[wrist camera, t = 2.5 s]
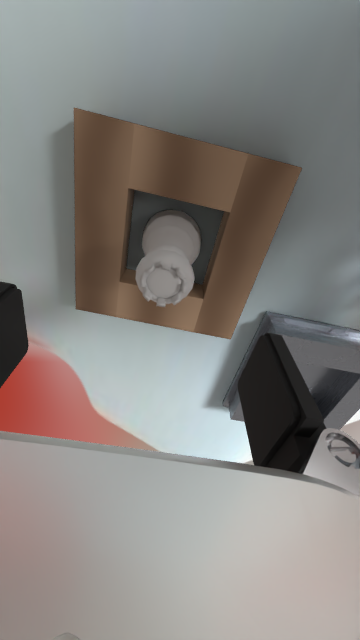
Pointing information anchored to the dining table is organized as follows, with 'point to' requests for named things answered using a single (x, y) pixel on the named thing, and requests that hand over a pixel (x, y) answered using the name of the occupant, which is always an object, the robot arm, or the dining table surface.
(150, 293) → the rook chess piece
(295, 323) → the holder
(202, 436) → the dining table surface
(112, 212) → the socket block
